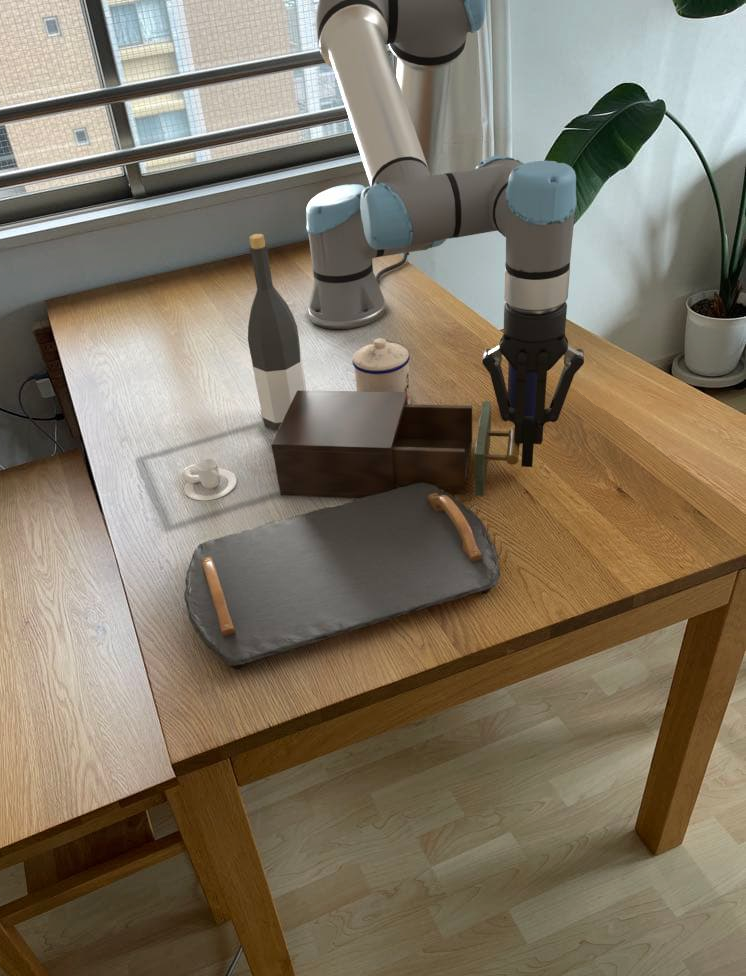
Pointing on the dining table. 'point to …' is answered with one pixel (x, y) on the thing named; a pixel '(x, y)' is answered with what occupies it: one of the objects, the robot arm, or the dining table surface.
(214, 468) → the teacup and saucer
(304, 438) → the cabinet
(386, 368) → the teacup with lid
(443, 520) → the serving tray
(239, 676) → the dining table surface
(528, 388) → the navy cylinder
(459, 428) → the drawer
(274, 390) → the wine bottle
